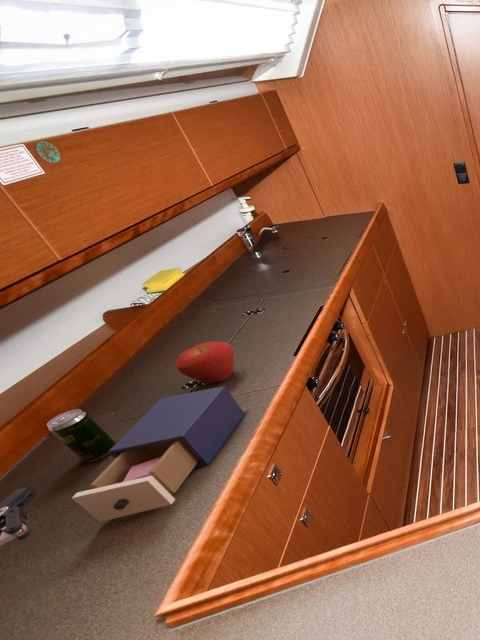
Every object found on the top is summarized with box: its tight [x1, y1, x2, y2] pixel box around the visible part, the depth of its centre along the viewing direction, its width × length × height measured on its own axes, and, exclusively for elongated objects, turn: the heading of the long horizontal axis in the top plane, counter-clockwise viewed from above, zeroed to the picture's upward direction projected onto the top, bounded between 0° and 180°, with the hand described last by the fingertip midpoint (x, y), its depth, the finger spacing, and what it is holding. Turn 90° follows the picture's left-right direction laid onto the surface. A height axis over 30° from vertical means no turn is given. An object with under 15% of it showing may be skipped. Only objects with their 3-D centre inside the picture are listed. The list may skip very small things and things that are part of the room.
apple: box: [175, 341, 235, 384], centre depth 114 cm, size 11×11×12 cm
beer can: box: [46, 408, 117, 463], centre depth 93 cm, size 5×5×12 cm
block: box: [123, 457, 160, 482], centre depth 85 cm, size 4×4×4 cm
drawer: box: [71, 439, 199, 523], centre depth 85 cm, size 16×12×8 cm
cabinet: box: [108, 385, 245, 469], centre depth 95 cm, size 16×13×10 cm
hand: (27, 491), depth 69 cm, fingers closed
